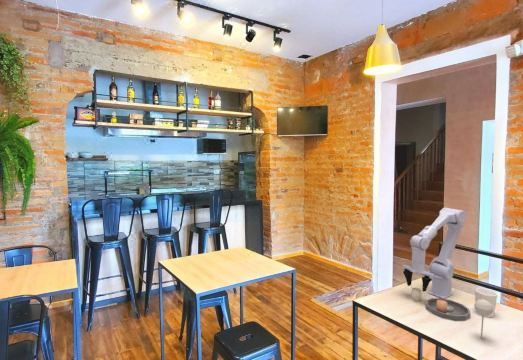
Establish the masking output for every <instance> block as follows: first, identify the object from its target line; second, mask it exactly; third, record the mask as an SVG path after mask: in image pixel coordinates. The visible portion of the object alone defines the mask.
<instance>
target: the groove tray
mask: <svg viewBox="0 0 523 360" xmlns="http://www.w3.org/2000/svg"><path fill="white" fill-rule="evenodd" d="M437 300H444V301H446V302H447V314H446V313H442V312H440V311H437V310H436V307H437ZM425 309H426V310H427V311H428V312H430V313H431V315H435V316H436V317H439V318H441V319H444V320H449V321H454V322H460V321H461V322H463V321H467V320H469V319H471V310H470V308H468V307H467V306H465V305H464V304H463V303H460V302H458V301H454V300H452V299H447V298H444V299H443V298H440V297H431V298H429V299H426V300H425Z"/></svg>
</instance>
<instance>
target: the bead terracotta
mask: <svg viewBox="0 0 523 360" xmlns="http://www.w3.org/2000/svg"><path fill="white" fill-rule="evenodd" d="M436 310H437V311H440V312H442V313H446V314H447V302H446V301H444V300H437V307H436Z"/></svg>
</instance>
